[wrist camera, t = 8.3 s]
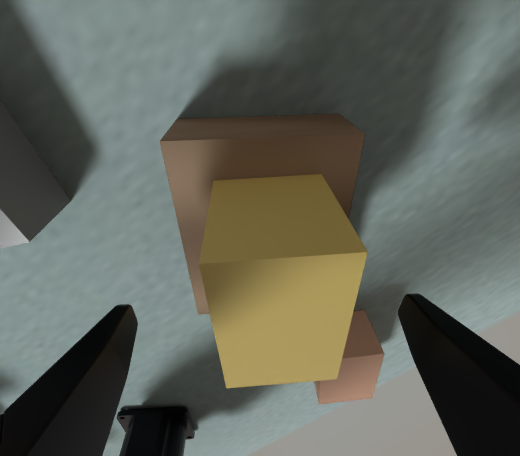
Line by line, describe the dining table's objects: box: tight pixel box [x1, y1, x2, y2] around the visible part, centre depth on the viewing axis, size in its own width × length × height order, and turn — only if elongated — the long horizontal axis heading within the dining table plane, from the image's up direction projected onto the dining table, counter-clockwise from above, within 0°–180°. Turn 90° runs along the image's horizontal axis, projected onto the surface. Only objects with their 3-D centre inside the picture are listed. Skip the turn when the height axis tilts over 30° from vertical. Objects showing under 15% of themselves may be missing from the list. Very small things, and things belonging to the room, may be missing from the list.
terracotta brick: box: [314, 310, 384, 404], centre depth 20 cm, size 6×4×4 cm, turn 6°
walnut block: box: [160, 114, 365, 314], centre depth 13 cm, size 9×7×4 cm
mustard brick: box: [199, 174, 368, 388], centre depth 10 cm, size 6×4×4 cm, turn 2°
